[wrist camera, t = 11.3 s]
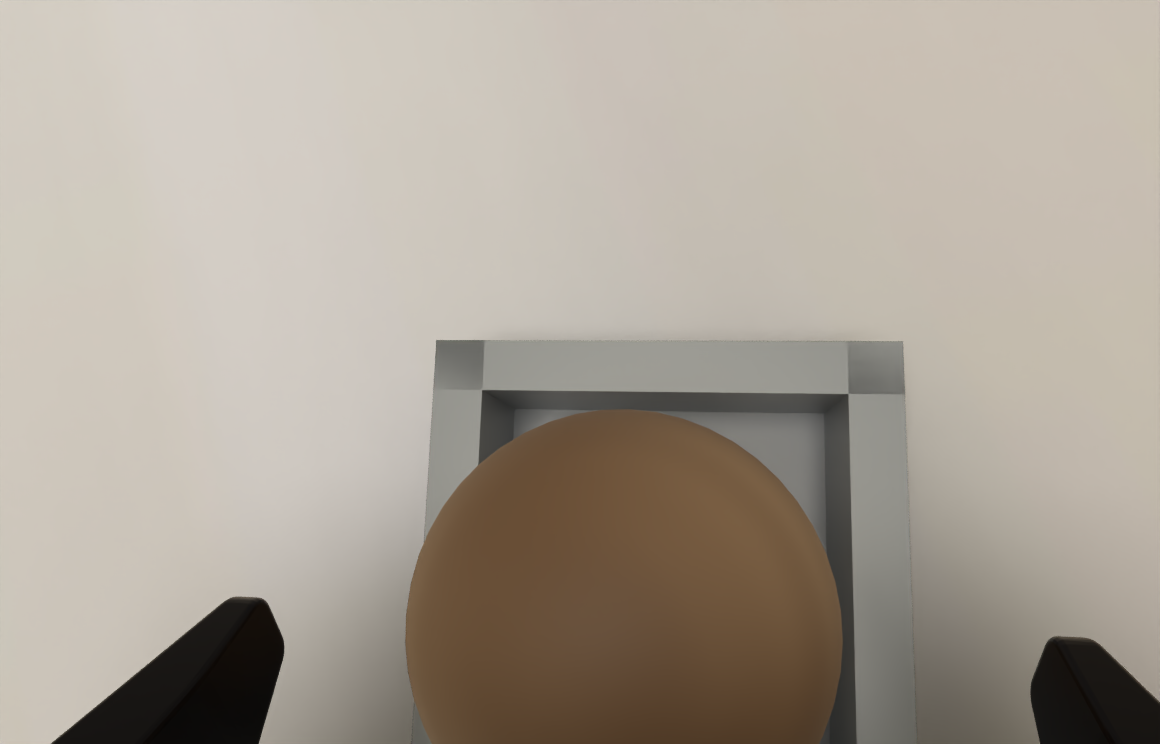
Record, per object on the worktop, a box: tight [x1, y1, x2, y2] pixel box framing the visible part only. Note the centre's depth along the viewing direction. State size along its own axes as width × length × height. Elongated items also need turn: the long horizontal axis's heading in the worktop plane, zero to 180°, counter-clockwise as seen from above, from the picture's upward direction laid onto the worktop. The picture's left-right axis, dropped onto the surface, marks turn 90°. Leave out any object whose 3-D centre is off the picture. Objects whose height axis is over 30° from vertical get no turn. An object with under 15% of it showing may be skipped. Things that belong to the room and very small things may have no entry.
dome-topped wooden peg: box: [405, 409, 843, 744], centre depth 13 cm, size 5×5×11 cm
